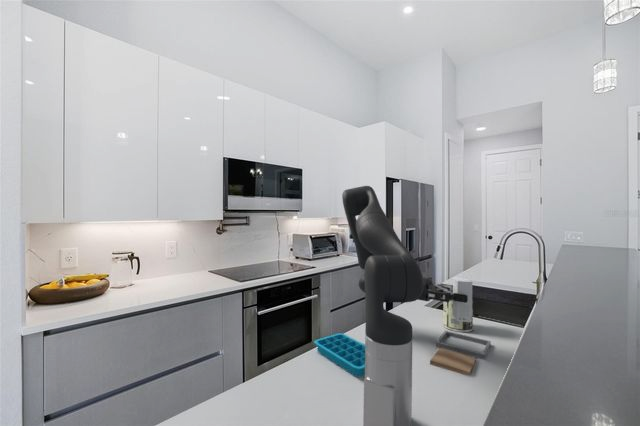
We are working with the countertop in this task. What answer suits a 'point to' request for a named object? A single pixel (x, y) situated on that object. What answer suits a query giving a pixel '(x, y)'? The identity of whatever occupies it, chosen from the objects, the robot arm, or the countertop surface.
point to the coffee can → (451, 322)
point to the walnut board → (453, 361)
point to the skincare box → (460, 308)
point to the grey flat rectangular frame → (462, 350)
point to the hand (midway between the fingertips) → (469, 296)
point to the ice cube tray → (343, 352)
